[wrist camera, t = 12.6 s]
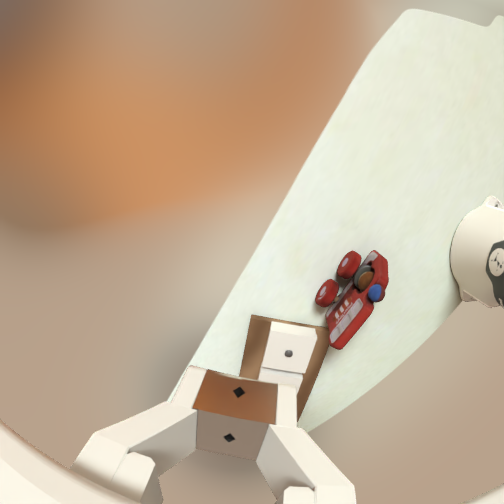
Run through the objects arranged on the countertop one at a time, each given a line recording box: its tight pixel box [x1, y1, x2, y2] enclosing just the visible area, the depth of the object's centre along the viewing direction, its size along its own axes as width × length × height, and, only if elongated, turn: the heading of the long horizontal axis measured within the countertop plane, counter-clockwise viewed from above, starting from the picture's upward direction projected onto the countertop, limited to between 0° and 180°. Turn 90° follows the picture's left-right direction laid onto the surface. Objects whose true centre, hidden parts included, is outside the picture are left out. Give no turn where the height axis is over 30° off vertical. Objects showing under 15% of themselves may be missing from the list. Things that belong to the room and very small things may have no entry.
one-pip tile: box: [262, 321, 317, 373], centre depth 41 cm, size 7×7×3 cm
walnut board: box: [239, 315, 330, 422], centre depth 44 cm, size 13×22×3 cm, turn 170°
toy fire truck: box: [315, 250, 389, 350], centre depth 35 cm, size 7×12×10 cm, turn 147°
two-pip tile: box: [257, 363, 303, 394], centre depth 43 cm, size 7×7×3 cm
